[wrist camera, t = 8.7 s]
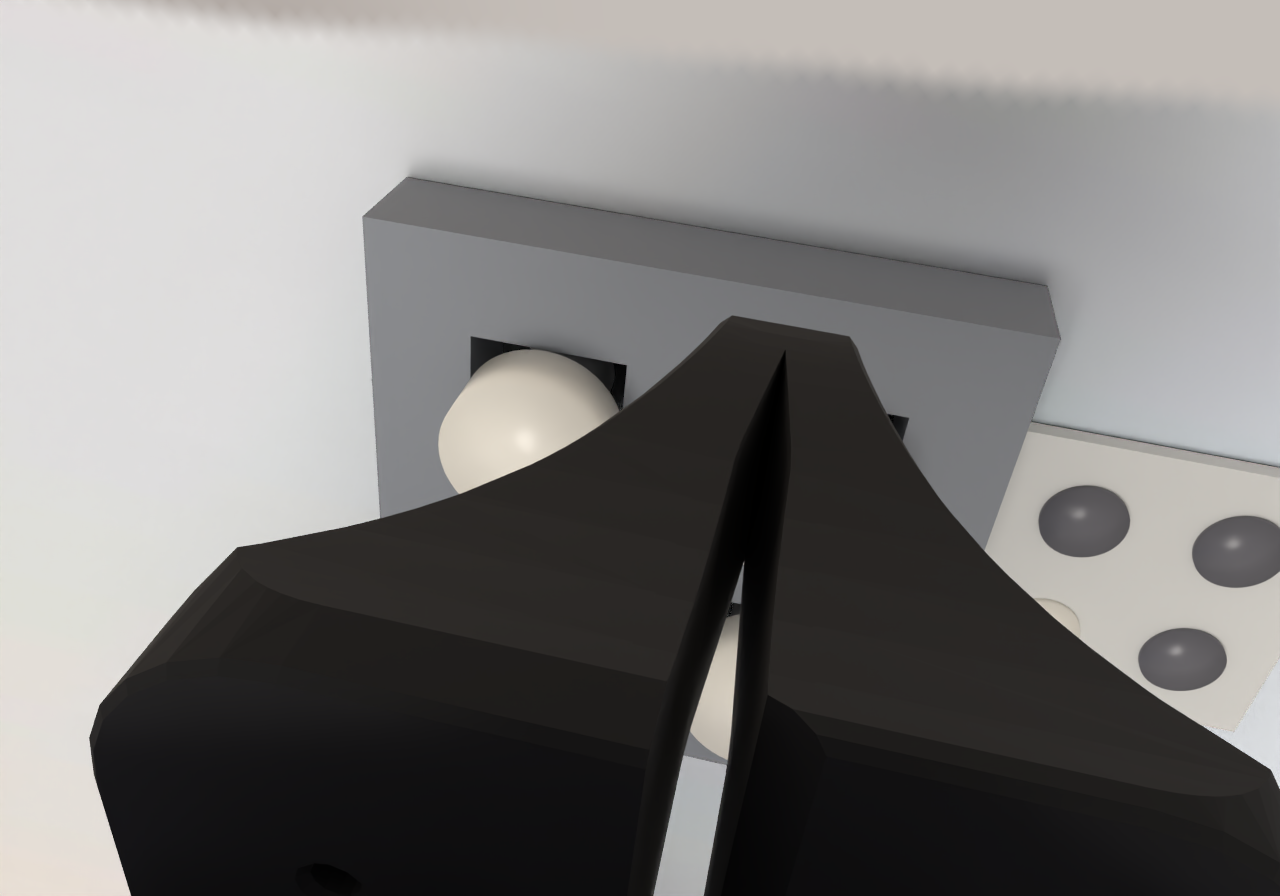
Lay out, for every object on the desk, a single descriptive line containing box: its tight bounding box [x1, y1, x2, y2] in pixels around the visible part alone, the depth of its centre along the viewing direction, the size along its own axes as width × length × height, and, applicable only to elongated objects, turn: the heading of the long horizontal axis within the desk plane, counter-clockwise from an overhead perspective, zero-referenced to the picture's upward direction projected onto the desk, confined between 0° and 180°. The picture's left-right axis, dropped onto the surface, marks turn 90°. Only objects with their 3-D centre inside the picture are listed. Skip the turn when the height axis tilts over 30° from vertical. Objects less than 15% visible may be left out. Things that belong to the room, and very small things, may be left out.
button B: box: [690, 603, 741, 760], centre depth 25 cm, size 3×3×4 cm
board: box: [363, 177, 1061, 765], centre depth 24 cm, size 13×13×2 cm
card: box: [985, 422, 1280, 732], centre depth 24 cm, size 7×7×1 cm
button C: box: [438, 347, 619, 494], centre depth 22 cm, size 3×3×4 cm
